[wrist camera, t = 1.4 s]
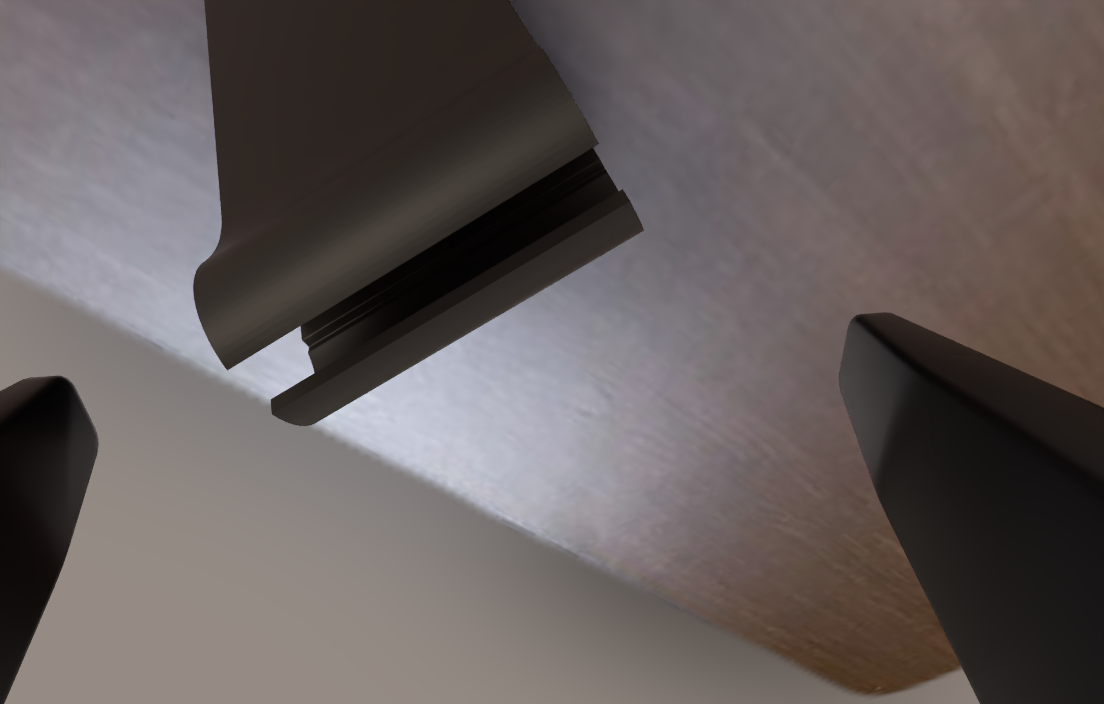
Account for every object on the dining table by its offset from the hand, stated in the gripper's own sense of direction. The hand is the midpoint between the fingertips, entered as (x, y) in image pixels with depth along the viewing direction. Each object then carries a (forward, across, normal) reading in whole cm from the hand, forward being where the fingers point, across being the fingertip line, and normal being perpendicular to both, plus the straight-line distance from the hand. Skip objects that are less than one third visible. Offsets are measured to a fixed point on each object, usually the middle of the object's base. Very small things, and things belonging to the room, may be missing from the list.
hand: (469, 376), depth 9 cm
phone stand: (+14, +2, 0) cm, 14 cm away
